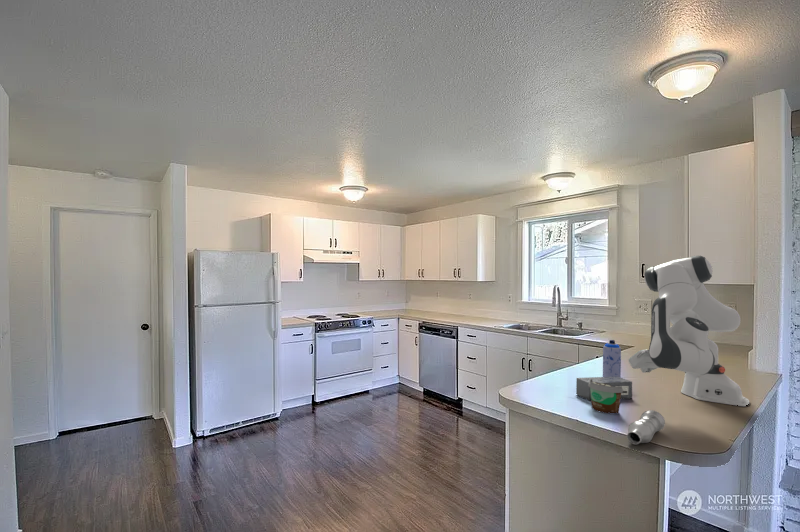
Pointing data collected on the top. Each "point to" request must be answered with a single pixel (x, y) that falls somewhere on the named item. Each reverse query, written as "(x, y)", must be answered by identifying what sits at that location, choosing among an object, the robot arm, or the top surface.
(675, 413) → the top surface
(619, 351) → the aerosol can
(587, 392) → the box
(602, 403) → the food container
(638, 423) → the plastic bottle
